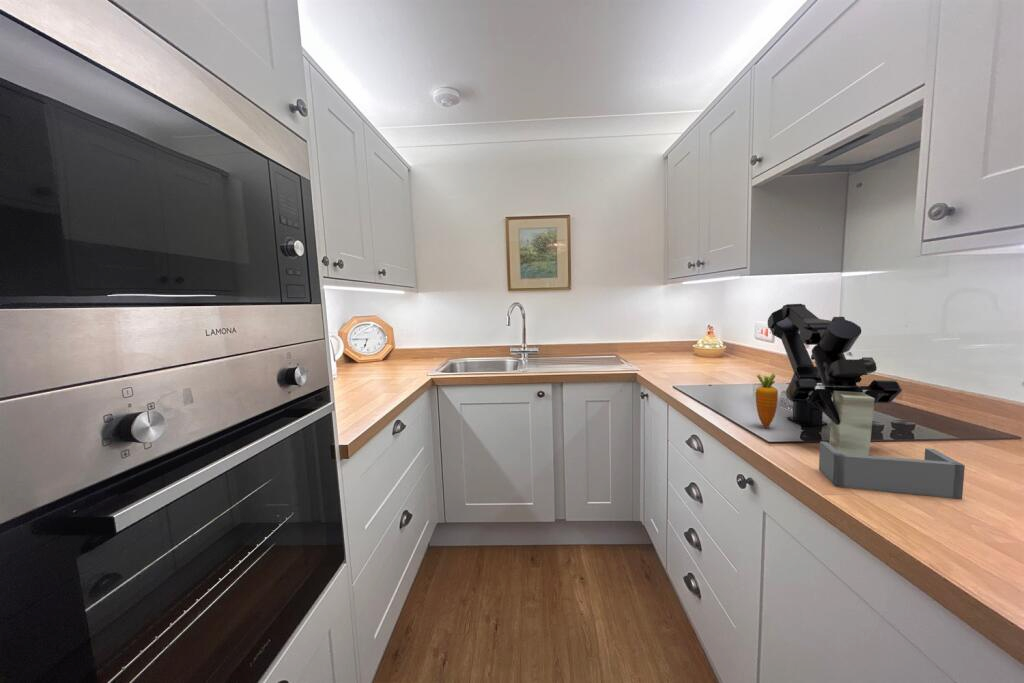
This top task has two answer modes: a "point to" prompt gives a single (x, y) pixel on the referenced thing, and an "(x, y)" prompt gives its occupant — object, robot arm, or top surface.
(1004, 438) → the top surface
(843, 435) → the sage block
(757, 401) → the carrot
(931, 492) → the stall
